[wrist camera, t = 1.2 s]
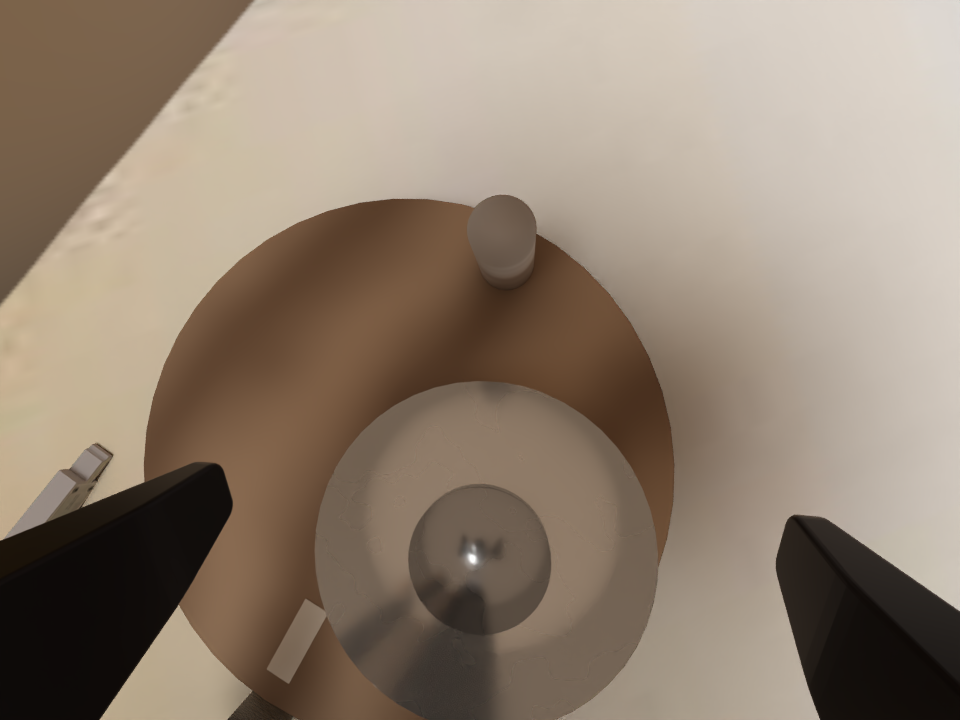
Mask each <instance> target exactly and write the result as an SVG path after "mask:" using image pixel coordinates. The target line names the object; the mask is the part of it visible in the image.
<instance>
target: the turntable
mask: <svg viewBox="0 0 960 720" xmlns="http://www.w3.org/2000/svg"><path fill="white" fill-rule="evenodd" d="M473 381H487V382H504V383H510V384H516V385H521V386H525V387H528V388H531V389H534V390H537V391H540V392H543V393H545V394H547V395H549V396H551V397H553V398H555V399H557V400H559V401H562V402H564V403H565V404H567V405H568V406H570V407H572V408H573V409H575V410H576V411H578V412H579V413H581V414H583V415H584V416H585V417H586V418H588V419H589V420H590V421H591V422H592V423H594V424H595V425H596V426H597V427H598V428H599V429H601V430H602V431H603V432H604V433H605V435H606V436H607V437H608V438H609V439H610V440H611V441H612V442H613V443H614V444H615V445H616V447H617V448H618V449H619V450H620V452H621V453H622V455H623V456H624V458H625V459H626V460H627V462H628V463H629V465H630V466H631V468H632V470H633V471H634V473H635V475H636V477H637V479H638V481H639V483H640V485H641V487H642V489H643V491H644V494H645V497H646V499H647V502H648V505H649V507H650V510H651V515H652V519H653V523H654V527H655V532H656V540H657V550H658V566H659V563H660V559H661V556H662V553H663V550H664V547H665V543H666V540H667V535H668V529H669V523H670V517H671V511H672V506H673V490H674V456H673V446H672V436H671V427H670V423H669V418H668V414H667V410H666V406H665V402H664V397H663V393H662V390H661V387H660V384H659V382H658V379H657V377H656V374H655V371H654V369H653V366H652V364H651V361H650V358H649V356H648V354H647V352H646V350H645V349H644V347H643V345H642V343H641V341H640V339H639V338H638V336H637V334H636V332H635V330H634V328H633V327H632V325H631V323H630V322H629V320H628V319H627V318H626V316H625V315H624V314H623V312H622V311H621V309H620V308H619V307H618V305H617V304H616V303H615V301H614V300H613V298H612V297H611V296H610V294H609V293H608V292H607V291H606V290H605V289H604V288H603V287H602V286H601V285H600V284H599V283H598V282H597V281H596V280H595V279H594V278H593V277H592V276H591V274H590V273H589V272H588V271H587V270H586V269H585V268H584V267H582V266H581V265H580V264H579V263H577V262H576V261H575V260H574V259H572V258H571V257H570V256H569V255H567V254H566V253H565V252H564V251H562V250H561V249H560V248H559V247H557V246H556V245H554V244H553V243H551V242H549V241H548V240H546V239H544V238H543V237H541V236H539V235H538V234H536V221H535V217H534V215H533V213H532V211H531V209H530V208H529V207H528V206H527V205H526V204H525V203H524V202H523V201H522V200H520V199H518V198H516V197H513V196H509V195H496V196H492V197H489V198H487V199H485V200H483V201H482V202H481V203H479V204H478V205H477V206H476V207H475V208H472V207H469V206H465V205H462V204H455V203H449V202H442V201H435V200H428V199H389V200H380V201H372V202H363V203H358V204H354V205H350V206H346V207H342V208H338V209H334V210H330V211H327V212H324V213H322V214H319V215H317V216H314V217H312V218H309V219H307V220H304V221H301V222H299V223H297V224H295V225H293V226H291V227H289V228H288V229H286V230H284V231H282V232H280V233H278V234H277V235H275V236H273V237H271V238H269V239H268V240H266V241H265V242H264V243H262V244H261V245H260V246H258V247H257V248H255V249H254V250H253V251H251V252H250V253H249V254H247V255H246V256H244V257H243V258H242V259H241V260H240V261H238V262H237V263H236V264H235V265H234V266H233V267H232V268H231V269H230V270H229V271H228V272H227V273H226V274H225V275H224V276H223V277H222V278H220V279H219V280H218V281H217V282H216V284H215V285H214V286H213V287H212V289H211V290H210V291H209V292H208V293H207V295H206V296H205V297H204V298H203V299H202V301H201V302H200V303H199V304H198V306H197V307H196V308H195V310H194V311H193V313H192V314H191V316H190V318H189V319H188V321H187V322H186V324H185V325H184V327H183V329H182V330H181V332H180V333H179V335H178V337H177V339H176V341H175V343H174V345H173V347H172V350H171V352H170V354H169V356H168V358H167V360H166V362H165V364H164V367H163V370H162V373H161V376H160V379H159V382H158V385H157V388H156V391H155V394H154V397H153V401H152V406H151V411H150V416H149V421H148V426H147V432H146V444H145V457H144V479H145V482H146V481H149V480H151V479H154V478H156V477H158V476H161V475H163V474H166V473H168V472H171V471H173V470H176V469H178V468H181V467H183V466H186V465H188V464H191V463H193V462H210V463H217V464H219V465H220V466H221V467H222V468H223V470H224V473H225V476H226V479H227V483H228V486H229V489H230V492H231V496H232V499H233V508H232V512H231V515H230V517H229V519H228V521H227V522H226V524H225V526H224V528H223V529H222V531H221V533H220V535H219V536H218V538H217V540H216V542H215V543H214V545H213V547H212V549H211V550H210V552H209V554H208V556H207V557H206V559H205V561H204V563H203V564H202V566H201V568H200V570H199V571H198V573H197V575H196V577H195V579H194V580H193V582H192V584H191V585H190V587H189V589H188V590H187V592H186V594H185V595H184V597H183V599H182V600H181V602H180V603H179V606H180V607H181V609H182V611H183V612H184V614H185V616H186V618H187V619H188V621H189V623H190V624H191V626H192V627H193V629H194V630H195V631H196V633H197V634H198V635H199V637H200V638H201V639H202V640H203V642H204V643H205V644H206V646H207V647H208V648H209V650H210V651H211V652H212V653H213V654H214V656H215V657H216V658H217V659H218V660H219V661H220V662H221V663H222V664H223V665H224V666H225V667H226V668H227V669H228V670H229V671H230V672H231V673H232V674H233V675H234V676H235V677H236V678H237V679H239V680H240V681H241V682H243V683H244V684H245V685H246V686H248V687H249V688H250V689H252V690H253V691H254V692H255V693H257V694H258V695H259V696H261V697H262V698H263V699H264V700H266V701H268V702H270V703H271V704H273V705H275V706H276V707H278V708H280V709H281V710H283V711H285V712H287V713H288V714H290V715H292V716H293V717H295V718H298V719H300V720H428V719H425V718H423V717H420V716H418V715H416V714H414V713H412V712H411V711H409V710H407V709H405V708H404V707H402V706H400V705H398V704H397V703H395V702H394V701H393V700H391V699H390V698H389V697H387V696H386V695H385V694H383V693H382V692H381V691H379V690H378V689H377V688H376V687H375V686H374V685H373V684H372V683H371V682H370V681H369V680H368V679H367V678H366V677H365V676H364V675H363V674H362V673H361V672H360V671H359V669H358V668H357V667H356V666H355V664H354V663H353V662H352V661H351V659H350V658H349V657H348V655H347V654H346V652H345V650H344V649H343V647H342V646H341V644H340V642H339V641H338V639H337V637H336V635H335V633H334V631H333V629H332V627H331V624H330V622H329V620H328V618H327V615H326V612H325V609H324V606H323V603H322V599H321V596H320V592H319V586H318V581H317V576H316V565H315V538H316V526H317V521H318V516H319V511H320V506H321V503H322V500H323V497H324V494H325V491H326V488H327V485H328V483H329V481H330V479H331V477H332V474H333V472H334V470H335V468H336V466H337V465H338V463H339V461H340V460H341V458H342V457H343V455H344V454H345V452H346V451H347V449H348V448H349V446H350V445H351V444H352V443H353V442H354V440H355V439H356V438H357V437H358V436H359V435H360V433H361V432H362V431H363V430H364V429H365V428H366V427H368V426H369V425H370V424H371V423H372V422H373V421H374V420H375V419H376V418H377V417H379V416H380V415H382V414H383V413H384V412H386V411H387V410H389V409H390V408H392V407H393V406H394V405H396V404H398V403H400V402H402V401H404V400H406V399H408V398H410V397H411V396H413V395H416V394H418V393H421V392H424V391H427V390H429V389H432V388H435V387H440V386H444V385H449V384H453V383H461V382H473Z"/></svg>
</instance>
